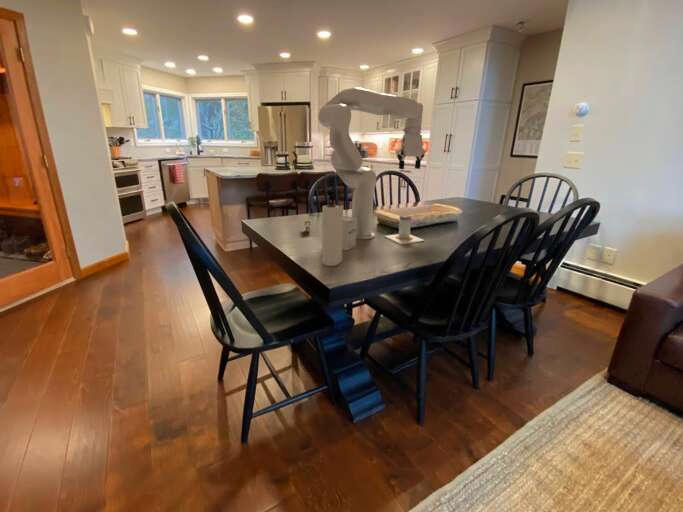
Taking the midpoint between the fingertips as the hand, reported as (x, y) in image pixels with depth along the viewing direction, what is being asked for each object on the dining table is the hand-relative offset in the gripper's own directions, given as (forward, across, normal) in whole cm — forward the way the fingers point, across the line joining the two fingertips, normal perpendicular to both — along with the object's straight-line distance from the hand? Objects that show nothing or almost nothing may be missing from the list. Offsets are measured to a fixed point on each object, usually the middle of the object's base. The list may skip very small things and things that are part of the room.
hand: (409, 168), depth 162 cm
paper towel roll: (+31, -56, -32) cm, 71 cm away
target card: (+30, -12, -16) cm, 36 cm away
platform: (+31, -49, +12) cm, 59 cm away
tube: (+30, -12, -16) cm, 36 cm away
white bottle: (+31, -43, -16) cm, 55 cm away
